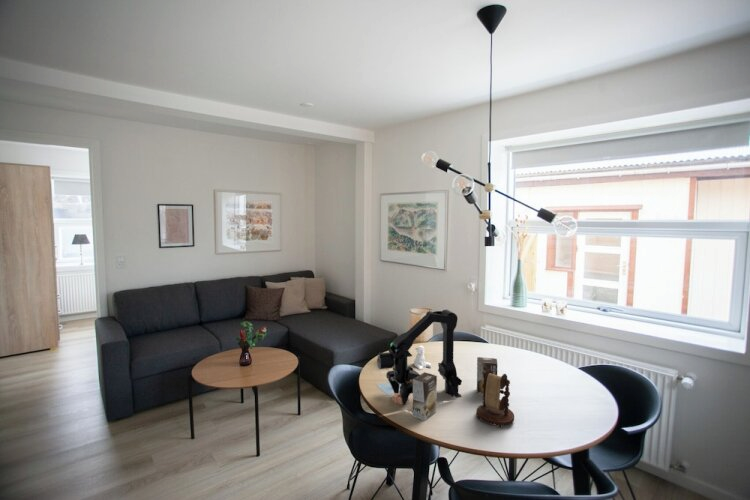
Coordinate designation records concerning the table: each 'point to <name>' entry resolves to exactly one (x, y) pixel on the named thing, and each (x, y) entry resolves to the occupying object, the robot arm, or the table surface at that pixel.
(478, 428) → the table surface
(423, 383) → the coffee box
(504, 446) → the table surface
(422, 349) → the seated beast figurine
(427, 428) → the table surface
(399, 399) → the salmon gear
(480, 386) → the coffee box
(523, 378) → the table surface
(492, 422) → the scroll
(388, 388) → the gear board
